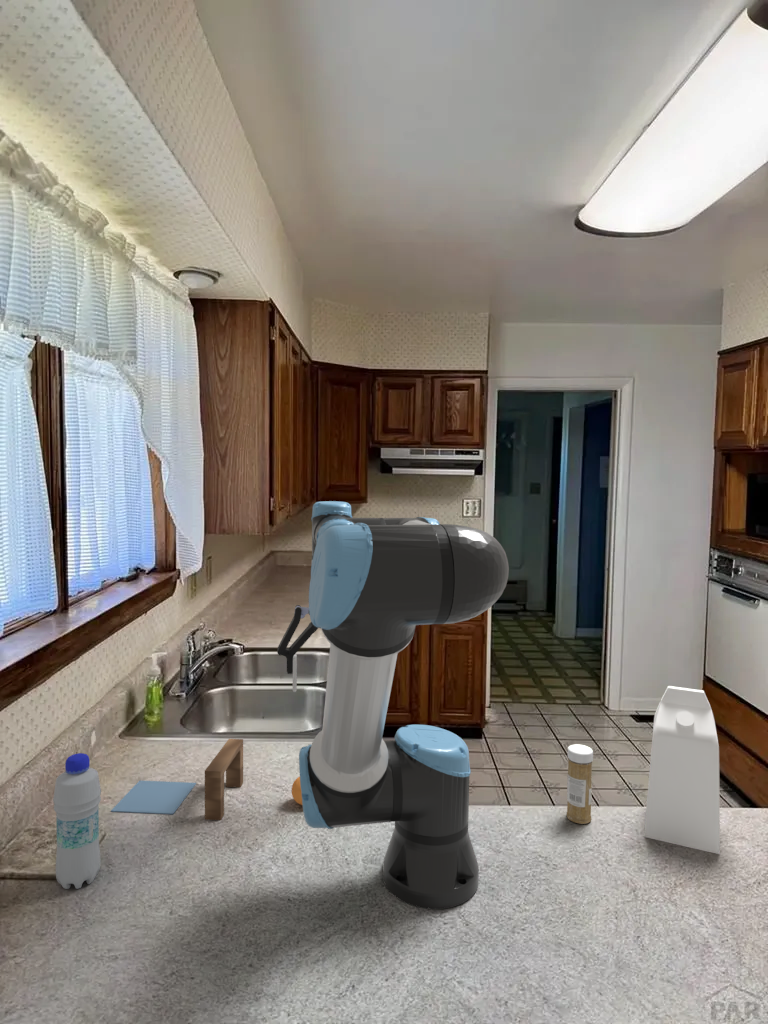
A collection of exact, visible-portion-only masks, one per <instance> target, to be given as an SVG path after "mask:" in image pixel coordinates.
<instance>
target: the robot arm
mask: <svg viewBox="0 0 768 1024" xmlns="http://www.w3.org/2000/svg"><path fill="white" fill-rule="evenodd" d="M311 512H312V513H311V519H310V521H311V553H312V554H311V567H310V580H309V586H308V607H305V606H301V605H300V604H296V605H295V606H294V613H293V618H292V619H291V621H290V623H289V625H288V627H287V629H286V630H285V633H284V635H283V637H282V639H281V640H280V642H279V643H278V646H277V652H276V653H277V655H278V656H284V657H285V658H286V672H287V673H286V674H288V675H291V674H292V692H293V693H296V692H297V688H298V687H297V684H298V683H297V682H298V677H297V676H298V668H297V667H298V656H297V653H298V651H299V650H300V649H301V648H302V647H303V646H304V645H305V643H306V642H307V641H308V640H309V639H310V638H311V637H312V635H313V634H314V633H316V632H317V630H318V629H321V632H322V634H323V636H324V637H325V639H326V641H327V642H328V643H329V653H328V655H329V657H328V665H327V677H326V686H325V687H326V688H325V698H324V708H323V709H324V710H323V720H322V728H321V729H322V730H320V731H319V732H318V733H317V734H316V736H315V737H314V739H313V740H312V742H311V744H308V745H306V746H303V747H301V748H300V749H299V752H298V764H299V766H298V767H299V777H300V785H301V792H302V804H303V805H302V811H303V816H304V820H305V823H306V824H307V826H308V827H310V828H313V829H327V830H331V829H332V830H333V829H335V828H344V827H353V826H355V827H356V826H363V825H372V824H380V823H382V824H383V823H392V822H393V823H394V829H393V832H392V834H391V838H390V840H389V843H388V846H387V849H386V852H385V854H384V857H383V863H382V865H383V866H382V878H383V883H384V886H385V887H386V889H387V890H388V891H389V893H390V894H391V895H392V896H393V897H395V898H396V899H398V900H399V901H401V902H403V903H405V904H408V905H411V906H413V907H416V908H422V909H432V910H441V909H442V910H443V909H449V908H452V907H456V906H459V905H461V904H463V903H465V902H466V901H468V900H470V899H471V898H472V897H473V896H474V895H475V893H476V892H477V890H478V888H479V877H480V876H479V875H480V873H479V871H480V869H479V863H478V860H477V856H476V853H475V850H474V846H473V843H472V840H471V837H470V834H469V833H470V832H469V812H470V811H469V806H470V776H471V770H472V769H471V766H470V752H469V747H468V745H467V744H466V742H465V741H464V740H463V739H462V737H461V736H459V735H457V734H456V733H454V732H452V731H450V730H447V729H444V728H441V727H439V726H434V725H428V724H415V723H414V724H407V725H405V726H401V727H399V728H398V729H397V731H396V732H395V734H394V739H393V740H384V739H383V735H384V730H385V724H386V719H387V712H388V709H389V708H388V707H389V703H390V697H391V692H392V687H393V681H394V676H395V671H396V670H395V669H396V664H397V660H398V654H399V653H400V652H402V651H403V650H404V649H405V648H406V647H408V645H409V644H411V641H412V640H413V637H414V634H415V631H416V628H417V627H416V626H419V625H420V626H424V625H430V626H431V625H445V624H446V625H447V624H448V625H450V624H455V623H456V624H457V623H460V622H461V623H462V622H466V621H469V620H470V619H471V620H472V619H473V618H476V617H477V616H480V615H481V614H483V613H484V612H486V611H488V610H489V609H490V608H491V607H492V606H493V605H494V604H495V603H496V602H497V601H498V600H499V599H500V597H501V596H502V595H503V593H504V590H505V589H506V587H507V583H508V579H509V574H510V573H509V571H510V570H509V569H510V567H509V560H508V556H507V554H506V553H507V552H506V551H505V549H504V547H503V546H502V543H500V542H499V541H498V540H497V539H496V538H495V537H494V536H493V535H491V534H490V533H489V532H486V531H485V530H482V529H478V528H475V527H470V526H467V525H459V524H452V523H451V524H449V523H444V524H443V523H441V524H440V521H439V520H437V519H436V518H433V517H432V518H431V517H421V516H417V517H353V514H352V505H351V504H350V503H349V502H346V501H336V500H333V501H332V500H329V501H326V500H325V501H316V502H315V503H313V504H312V511H311ZM306 615H309V619H310V622H309V624H308V625H307V626H306V628H305V629H304V630H303V631H302V632H301V633H300V635H299V636H298V637H297V638H296V639H295V640H294V642H292V643H291V645H290V646H289V643H290V642H291V639H292V638H293V636H294V634H295V632H296V630H297V628H298V626H299V625H300V622H301V619H304V618H305V617H306ZM288 646H289V647H288Z"/></svg>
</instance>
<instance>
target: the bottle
mask: <svg viewBox="0 0 768 1024" xmlns="http://www.w3.org/2000/svg"><path fill="white" fill-rule="evenodd" d="M64 765H65V771H64V772H62V773H61V774H59V775H58V776H57V777H56V779H55V783H54V784H55V786H54V792H53V799H52V802H53V805H54V806H53V811H54V812H55V814H56V817H55V819H56V855H55V856H56V857H55V877H56V878H55V879H56V882H57V883H58V884H60V885H61V887H62V888H63V889H65V890H69V889H70V888H71V885H74V888H75V889H78V890H79V889H81V888H82V886H83V883H84V882H85V881H86V884H87V885H89V884H91V883H93V882H94V881H95V878H96V876H97V875H98V874H99V872H100V869H101V849H100V847H101V846H100V840H99V839H100V837H99V835H100V832H99V831H100V830H99V829H100V828H99V824H100V823H99V820H100V819H99V818H100V817H99V815H100V814H99V813H100V812H99V809H100V808H99V805H100V803H101V800H102V799H101V795H102V788H101V783H100V777H99V772H98V770H97V769H95V768H93V767H90V756H89V755H88V754H86V753H82V752H80V753H79V752H78V753H74V754H71V755H69V756H68V757H67V758H66V760H65V764H64Z"/></svg>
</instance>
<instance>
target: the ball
mask: <svg viewBox="0 0 768 1024" xmlns="http://www.w3.org/2000/svg"><path fill="white" fill-rule="evenodd" d="M291 786H292V787H291V795H292V798H293V800H294V802H295V803H296V804H299V805H300V806H303V804H302V792H301V785H300V776H298V777H297V778H296V779H295V780H294V781H293V783H292V785H291Z"/></svg>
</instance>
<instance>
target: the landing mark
mask: <svg viewBox="0 0 768 1024" xmlns="http://www.w3.org/2000/svg"><path fill="white" fill-rule="evenodd" d="M196 785H197V782H189V781H188V782H186V781H185V782H183V781H166V780H165V781H161V780H159V781H158V780H141V779H140V780H138V782H137V783H136V784H134V786H133V787H132V788H131V789H130V790H129V791H128V792H127V793H126V794H125V795H124V796H123V798H122V799H120V800H119V801H118V802H117V804H116V805H114V807H113V808H111V810H110V812H112V813H129V814H130V813H132V814H134V813H136V814H153V815H154V814H156V815H157V814H158V815H174V814H175V812H176V811H178V809H179V808H180V806H181V804H182V803H183V802H184V801H185V799H186V798H187V797H188V796H189V794H190V793H191V792H192V790H193V789H194V787H196Z"/></svg>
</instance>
